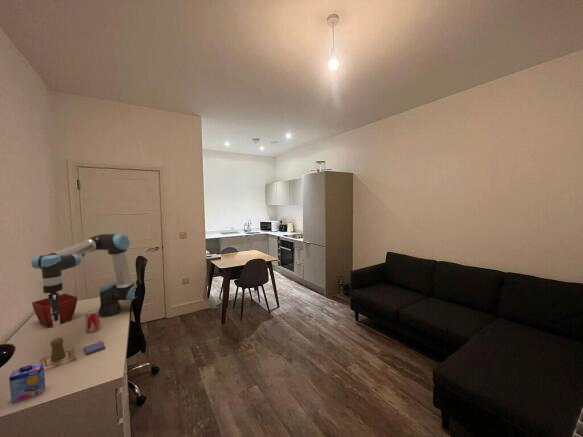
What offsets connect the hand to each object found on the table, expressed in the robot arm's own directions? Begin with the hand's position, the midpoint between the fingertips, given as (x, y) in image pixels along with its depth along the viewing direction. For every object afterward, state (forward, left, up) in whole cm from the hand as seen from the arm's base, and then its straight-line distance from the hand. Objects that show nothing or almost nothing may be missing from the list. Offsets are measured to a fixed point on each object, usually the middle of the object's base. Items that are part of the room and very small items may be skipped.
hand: (55, 322), depth 134 cm
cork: (0, 0, -21) cm, 21 cm away
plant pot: (-3, -61, -22) cm, 65 cm away
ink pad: (-15, +2, -22) cm, 27 cm away
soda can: (-19, -26, -22) cm, 39 cm away
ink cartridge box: (+11, +24, -22) cm, 35 cm away
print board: (0, 0, -22) cm, 22 cm away
